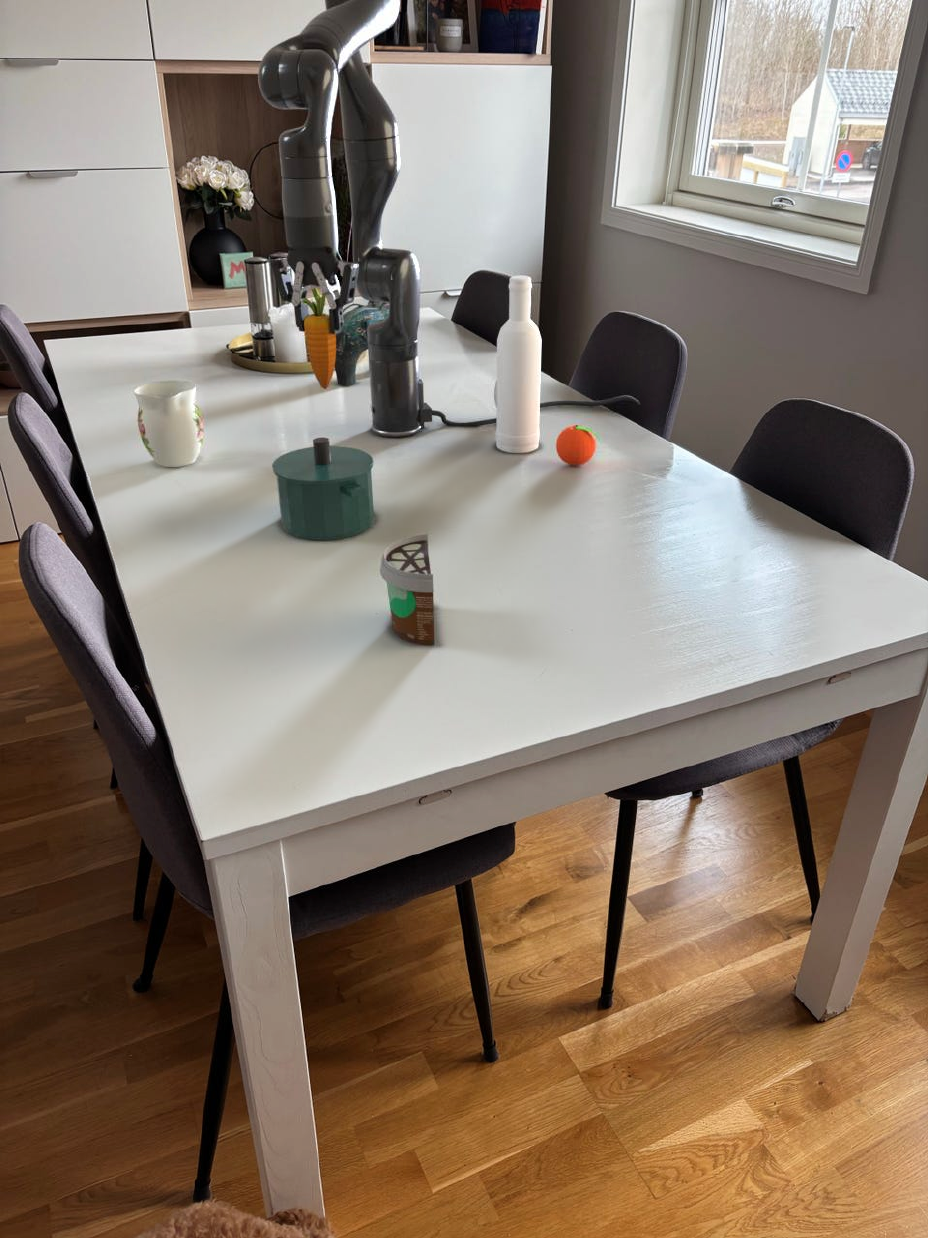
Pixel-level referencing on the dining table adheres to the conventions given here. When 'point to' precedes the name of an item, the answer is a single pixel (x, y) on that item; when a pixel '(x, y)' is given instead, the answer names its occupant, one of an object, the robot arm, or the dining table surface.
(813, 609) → the dining table surface
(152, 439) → the pitcher
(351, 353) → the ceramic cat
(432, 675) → the dining table surface
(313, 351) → the carrot
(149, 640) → the dining table surface
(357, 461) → the pot lid
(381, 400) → the robot arm
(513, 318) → the bottle
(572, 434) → the clementine
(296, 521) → the pot
